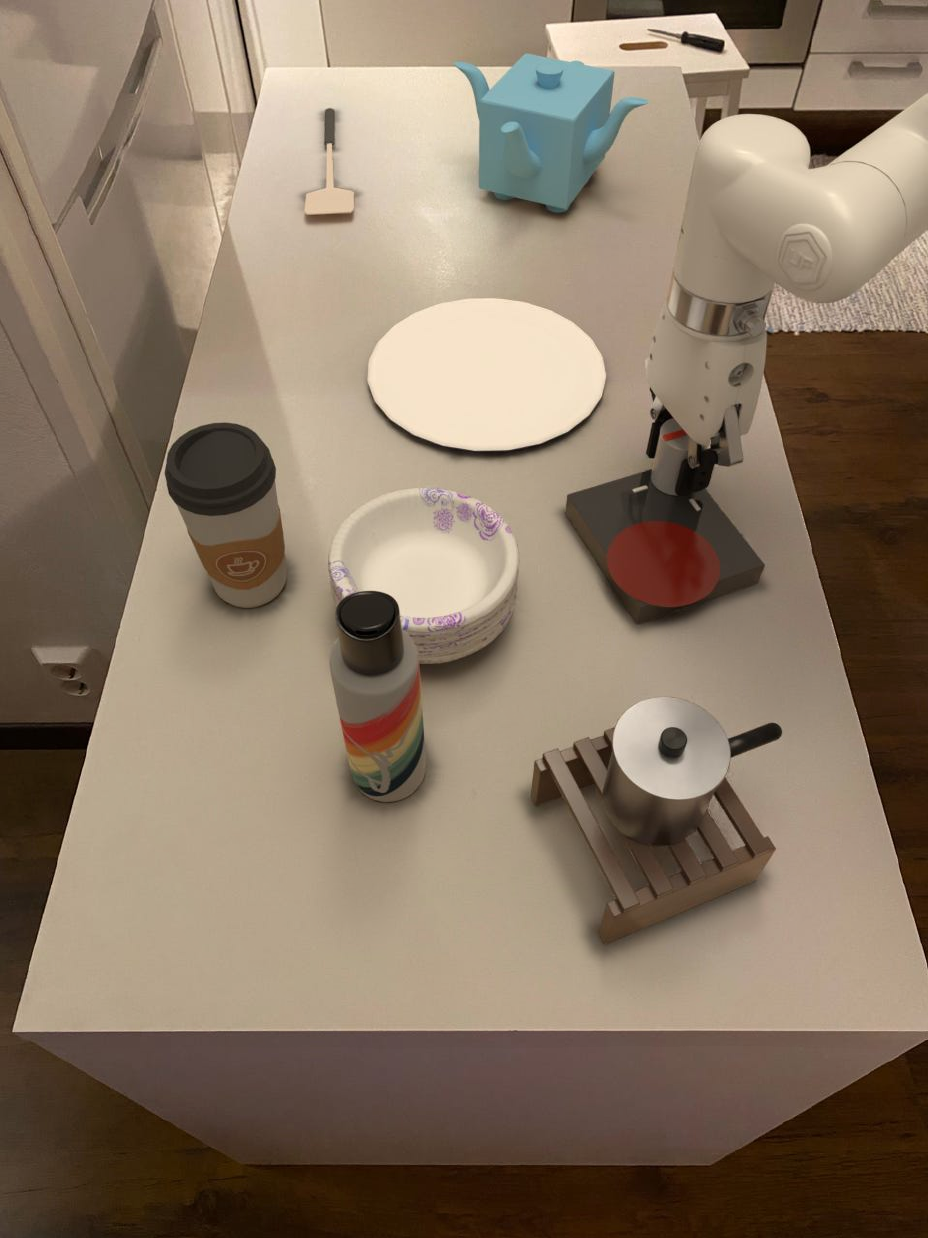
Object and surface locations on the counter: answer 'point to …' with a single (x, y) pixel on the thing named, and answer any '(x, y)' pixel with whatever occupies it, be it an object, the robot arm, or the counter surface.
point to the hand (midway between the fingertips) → (676, 469)
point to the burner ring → (663, 564)
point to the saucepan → (669, 767)
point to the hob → (640, 501)
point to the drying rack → (663, 894)
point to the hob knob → (670, 456)
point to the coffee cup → (230, 510)
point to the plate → (486, 375)
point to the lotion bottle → (378, 696)
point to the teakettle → (545, 128)
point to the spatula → (329, 181)
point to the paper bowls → (431, 567)
